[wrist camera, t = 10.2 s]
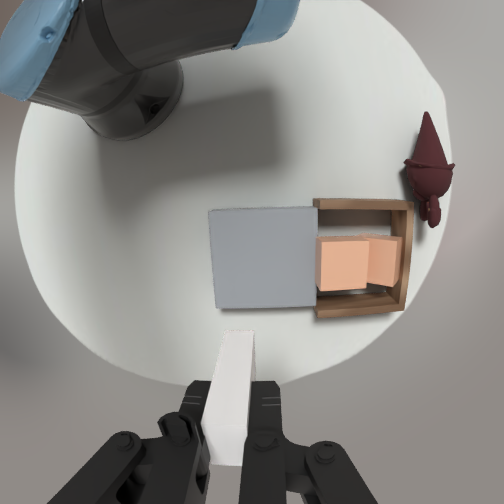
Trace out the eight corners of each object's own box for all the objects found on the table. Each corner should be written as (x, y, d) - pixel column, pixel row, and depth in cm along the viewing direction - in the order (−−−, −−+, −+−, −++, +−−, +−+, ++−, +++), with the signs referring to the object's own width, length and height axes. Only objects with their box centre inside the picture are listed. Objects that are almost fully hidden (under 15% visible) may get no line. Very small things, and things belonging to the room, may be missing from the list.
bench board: (213, 209, 35) (208, 211, 32) (313, 206, 34) (317, 208, 31) (219, 299, 37) (215, 308, 34) (312, 296, 37) (315, 305, 34)
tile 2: (396, 241, 28) (402, 237, 31) (354, 236, 32) (362, 232, 34) (392, 287, 30) (398, 279, 32) (352, 279, 33) (360, 273, 36)
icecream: (406, 103, 24) (409, 229, 29) (460, 111, 22) (460, 232, 27) (395, 112, 31) (397, 217, 35) (441, 118, 28) (442, 220, 33)
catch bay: (312, 198, 34) (319, 200, 29) (397, 199, 33) (413, 202, 29) (311, 303, 37) (317, 318, 32) (391, 297, 36) (403, 310, 32)
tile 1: (315, 236, 32) (321, 242, 29) (359, 235, 32) (369, 240, 29) (314, 281, 33) (320, 291, 30) (357, 279, 33) (366, 288, 30)
